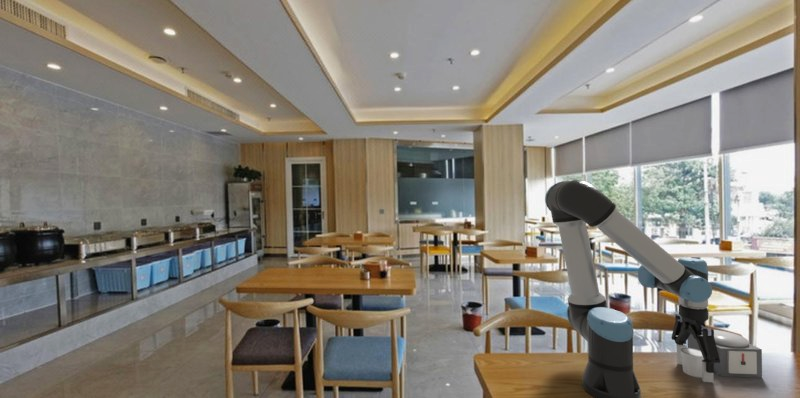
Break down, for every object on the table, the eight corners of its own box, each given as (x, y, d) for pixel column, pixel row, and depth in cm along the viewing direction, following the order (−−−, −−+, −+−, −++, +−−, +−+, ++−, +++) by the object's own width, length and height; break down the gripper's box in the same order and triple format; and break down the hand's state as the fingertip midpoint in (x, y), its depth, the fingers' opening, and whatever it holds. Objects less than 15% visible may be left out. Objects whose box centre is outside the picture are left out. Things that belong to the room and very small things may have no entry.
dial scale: (721, 377, 111) (721, 346, 111) (686, 354, 127) (685, 327, 127) (766, 379, 110) (766, 347, 110) (725, 356, 126) (724, 328, 125)
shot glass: (683, 375, 113) (683, 354, 113) (678, 366, 119) (678, 345, 119) (710, 380, 110) (710, 358, 110) (704, 370, 116) (703, 349, 116)
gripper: (735, 318, 102) (737, 392, 102) (680, 295, 125) (681, 356, 125) (708, 317, 103) (709, 391, 103) (658, 295, 126) (659, 355, 126)
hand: (694, 372), depth 114 cm, fingers open, 11 cm apart
